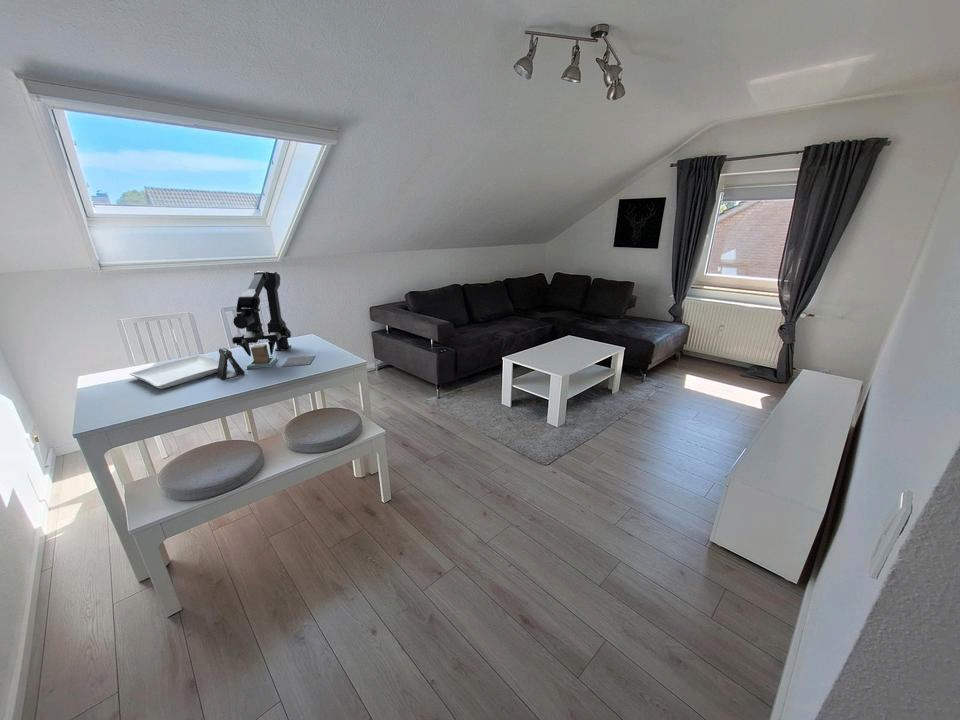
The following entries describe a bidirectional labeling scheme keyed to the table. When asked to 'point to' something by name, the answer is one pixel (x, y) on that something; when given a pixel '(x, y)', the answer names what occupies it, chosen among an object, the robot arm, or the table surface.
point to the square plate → (178, 371)
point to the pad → (298, 361)
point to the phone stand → (223, 365)
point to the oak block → (260, 354)
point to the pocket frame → (252, 365)
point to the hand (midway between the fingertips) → (261, 355)
